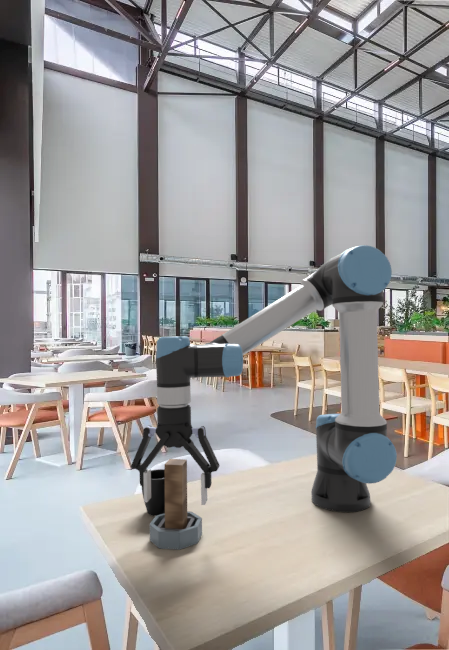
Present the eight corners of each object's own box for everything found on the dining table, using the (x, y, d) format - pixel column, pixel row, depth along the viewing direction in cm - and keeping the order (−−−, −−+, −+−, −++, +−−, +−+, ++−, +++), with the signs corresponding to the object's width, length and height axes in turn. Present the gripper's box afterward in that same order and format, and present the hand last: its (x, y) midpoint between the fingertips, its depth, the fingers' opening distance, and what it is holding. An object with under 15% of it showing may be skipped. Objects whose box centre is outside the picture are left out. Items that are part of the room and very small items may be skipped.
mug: (156, 526, 100) (155, 486, 100) (137, 510, 110) (136, 473, 110) (187, 517, 104) (186, 478, 105) (165, 502, 114) (165, 467, 115)
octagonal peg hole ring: (205, 527, 99) (204, 512, 99) (194, 550, 88) (193, 533, 88) (160, 525, 101) (160, 510, 101) (144, 547, 90) (144, 530, 90)
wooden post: (187, 530, 96) (186, 459, 96) (182, 538, 92) (182, 465, 92) (170, 528, 97) (169, 458, 97) (165, 537, 93) (164, 464, 93)
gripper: (230, 402, 97) (232, 497, 96) (128, 402, 101) (129, 492, 100) (225, 408, 90) (227, 510, 89) (115, 407, 94) (116, 505, 93)
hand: (175, 501), depth 95 cm, fingers open, 12 cm apart
